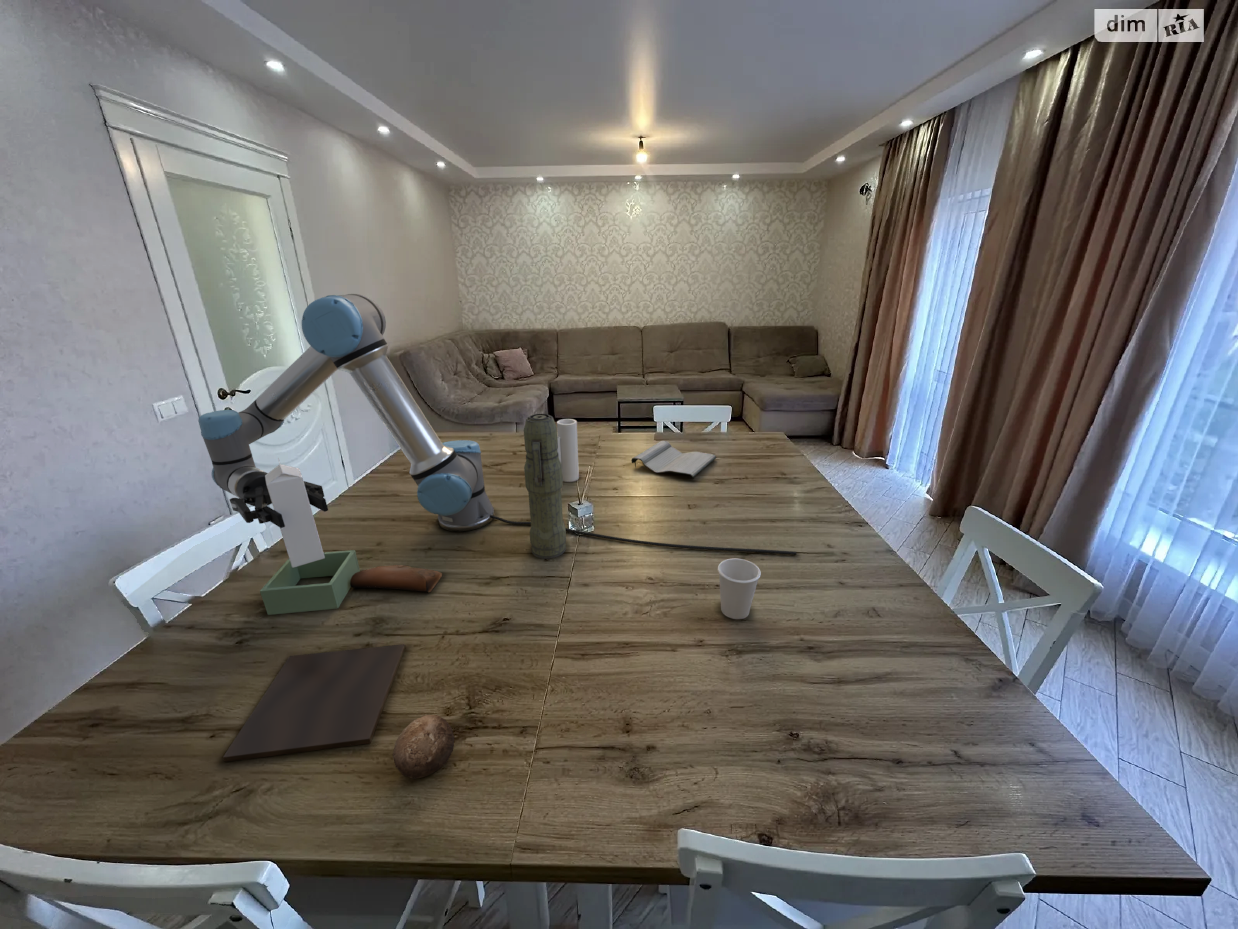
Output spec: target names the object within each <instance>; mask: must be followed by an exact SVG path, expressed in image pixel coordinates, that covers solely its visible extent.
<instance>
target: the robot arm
mask: <svg viewBox="0 0 1238 929" xmlns="http://www.w3.org/2000/svg"><path fill="white" fill-rule="evenodd" d="M386 328H387V321H386V316H385V314H384V311H383V309H382V307H380V305H379V304H378V303H377V302H376V301H374V300H373V299H372V298H370V297H368V296H366V295H363V294H359V293H348V294H339V295H337V294H329V295H326V296H322V297H320V298H317V299H314V300H313V301H311V302H310V303H309V304H308V305H307V306H306V308H305V309H304V311H303V313H302V318H301V331H302V334H303V337H304V338H305V341H306V342H307V343H308V345H309V347H308V348H307V349H305V351H304V352H302V354H301V355H300V356H299V357H298V358H296V360H294V362H292V363H291V364H290V365H289V366H288V367H287V368H286V369H285V370H284V371H283V372H282V373H281V374H280V375H279V376H278V377H276V379H275V380H274V381H273V382H272V383H271V384H270V385H269V386H268V387H267V388H265V389H264V390H263V392H262V393H260V394H259V395H258V397H256V398H255V399H254V400H253V402H251V403H250V405H248V406H247V407H246V408H244V409H243V410H241V411H237V410H233V409H221V410H220V409H219V410H214V411H210V412H206V413H203V414H201V415H199V417H198V420H197V421H198V425H199V429H200V435H201V437H202V439H203V442H204V445H205V447H206V450H207V453H208V455H209V458H210V461H211V464H212V469H211V478H212V481H213V482H214V483H215V484H216V485H217V486H218V487H219V488H220V489H221V490H223V491H225V492H227V493H229V494H231V495H233V496H235V497H231V498H229V503H230V505H231V509H232V511H234V512H238V513H239V515H240V516H241V517H242V519H243V521H245V523H246V524H250V523H253V522H254V521H255V520H258V523H259V524H265V523H269V522H270V523H272V524H273V525H275V526H276V527H278V528H279V529H280V528H283V527H285V524H284V521H283V518H282V515H281V514H280V513H278V512H277V511H275V510H274V508H272V507H269V506H270V505H273V504H272V501H271V498H270V495H269V492H268V488H267V485H266V479H265V475H266V474H268V473H269V472H266V471H264V470H263V469H260V468H258V467H257V466H256V463H255V461H254V457H253V453H252V450H251V447H250V445H251V444H253V443H255V442H256V441H259V440H260V439H262V438H264V437H266V436H267V435H271V434H273V433H275V432H276V431H277V430H279V429H280V428H281V427H282V426H283V425H284V423H285V420H286V419H287V418H288V417H289V416H290V415H291V414H292V413H293V412H294V411H295V410H296V409H298V408H299V406H300V405H301V404H303V403H304V402H305V401H306V400H307V399H308V398H309V397H310V396H311V395H312V394H313V393H314V392H315V391H317V390H318V389H319V388H320V387H321V386H322V385H323V384H324V383H325V382H326V381H327V380H328V379H329V378H330V377H332V376H333V375H334V374H335V373H336V372H337V371H338V370H339V371H342V372H345V373H348V374H349V375H350V376H351V378H352V379H353V381H354V382H355V384H356V385H357V387H358V388H359V390H360V391H361V392H362V394H363V395H364V397H365V399H366V400H367V401H368V403H369V404H370V405H371V407H372V409H373V410H374V412H375V413H376V415H377V417H379V419H380V420H381V422H382V423H383V425H384V427H385V428H386V429H387V431H388V432H389V434H390V435H391V437H392V438H393V440H394V441H395V442H396V444H397V445H398V447H399V448H400V450H401V452H402V453H403V455H404V456H405V457H406V459H407V461H408V462H409V464H410V468H409V475H410V477H411V478H412V480H413V481H414V483H415V484H416V485H417V490H416V496H417V500H418V502H419V504H420V506H421V507H422V508H423V509H424V510H425V511H427V512H429V513H431V514H433V515H437V520H438V524H439V527H441V528H442V529H443V530H446V531H450V532H469V531H475V530H478V529H480V528H483V527H485V526H487V525H488V524H490V523H491V522H492V521H494V520H496V521H500V522H502V523H505V524H509V525H519V526H521V525H522V526H523V525H524V526H526V525H527V526H528V525H529V526H531V521H514V520H507V519H505V518H502V517H500V516H496V515H495V507H494V505H493V504H492V502H491V500H490V498H489V496H488V494H487V493H486V487H485V479H484V478H485V477H484V471H483V463H482V462H483V461H482V451H481V448H480V444H479V443H478V442H476V441H474V440H469V439H468V440H467V439H459V440H458V439H457V440H449V441H444V442H442V440H441V439H440V437H439V435H438V434H437V433H436V431H435V430H434V428H433V426H432V424H431V423H430V421H429V420H428V419H427V417H426V415H425V414H424V412H423V410H422V409H421V408H420V406H419V404H418V403H417V401H416V400H415V397H413V395H412V393H411V392H410V391H409V389H408V387H407V385H406V384H405V383H404V381H403V379H402V378H401V376H400V375H399V373H398V372H397V369H396V368H395V367H394V365H393V363H392V362H391V361H390V359H389V357H388V356H387V352H388V350H389V349H388V348H389V344H388V342H387V341H386V339H385V338H384V333H385V331H386ZM303 481H304V485H305V488H306V492H307V496H308V499H309V503H310V506H312V507H315V508H317V509H318V510H320V511H322V512H324V513H325V512H328V511H329V508H328V504H327V500H326V498H325V492H324V488H323V486H322V485H321V484H316V483H313V482H309V481H305V480H303ZM248 505H249V506H252V507H254V510H251V508H249V506H248ZM565 528H566V532H569V533H573V534H578V535H584V536H589V537H595V538H600V539H605V540H606V539H607V540H612V541H619V542H624V543H625V542H626V543H630V544H631V543H632V544H639V545H640V544H641V545H647V546H657V547H666V548H679V549H693V550H704V551H705V550H706V551H724V552H741V553H743V552H745V553H759V554H761V553H762V554H778V555H791V556H796V555H797V551H792V550H776V549H761V548H739V547H723V546H722V547H721V546H703V545H688V544H676V543H665V542H654V541H646V540H640V539H639V540H637V539H632V538H625V537H617V536H611V535H605V534H598V533H595V532H588V531H583V530H578V529H573V528H572V529H571V528H568V527H565Z"/></svg>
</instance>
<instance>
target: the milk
mask: <svg viewBox="0 0 1238 929" xmlns="http://www.w3.org/2000/svg"><path fill="white" fill-rule="evenodd" d="M277 460H278V465H277V466H276V467H274V468H273V469H271V470H270V471H269V472H267V473H268V474H266V475H265V479H266V485H267V488H268V492H269V495H270V498H271V501H272V504H271V505H272V507H273V508H272V509H273V510H275V511H277V512H278V513H280V514H281V515H282V518H283V521H284V524H285V527H283V528H280V527H279V529H280V533H281V537H282V539H283V543H284V546H285V549H286V553H287V555H288V559H290V562H291V565H292V568H294V567H297V566H300V565H304V564H307V563H311V562H314V561H317V560H321V559H324V558H325V556H324V549H323V546H322V542H321V539H320V536H319V531H318V528H317V525H316V521H315V517H314V513H313V510H312V507H311V506H312V505H310V503H309V499H308V496H307V492H306V488H305V485H304V481H305V480H304V477H303V476H302V473H301V472H302V471H301V469H300V468H298V467H295V466H291V465H286V464H281V462H280V458H279V457H277Z"/></svg>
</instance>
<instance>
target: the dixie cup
mask: <svg viewBox="0 0 1238 929" xmlns="http://www.w3.org/2000/svg"><path fill="white" fill-rule="evenodd" d="M717 572H718V577H719V578H718V580H719V595H720V596H719V598H720V610H721V612H722V615H724V616H725V617H727V618H730V619H732V620H743V619H746V618H747V617H749V614H750V611H751V607H752V605H753V604H752V603H753V599H754V596H755V594H756V589H757V586H758V582H759V579H760V578H761V576H762V575H761V574H762V572H761V569H760V568H759V566H758V565H757V564H756V563H754V562H752V561H751V560H747V559H744V558H734V557H733V558H728V559H724V560H722V561H720V563H719V564H718V566H717Z"/></svg>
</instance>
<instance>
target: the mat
mask: <svg viewBox="0 0 1238 929" xmlns="http://www.w3.org/2000/svg"><path fill="white" fill-rule="evenodd" d="M717 458H718V457H717V455H716V454H714V453H713V454H712V453H708V452H702V451H690V452H681V451H680V450H678V449H677V448H675V447H674V446H672V444H671V443H670V442H669V441H667V440H660V441H658V442H657V443H655V444H653V445H652V446H650V447H649V448H646V449H645V450H644V451H642V452H641V453H639V454H637V455H636V456H634V457H631V464H634V466H635V468H637V461H641V462H642V464H643V465H644V466H645V467H647V469H649V470H651V472H654V473H657V474H664V473H673V474H680V475H687V476H691V477H692V479H694V478H695V477H696V476H697V475H698V474H699V473H701V472H702V471H703V470H704V469H706V467H707V466H709V465H710V464H711V463H712V462H714V461H715V460H716V459H717Z"/></svg>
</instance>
